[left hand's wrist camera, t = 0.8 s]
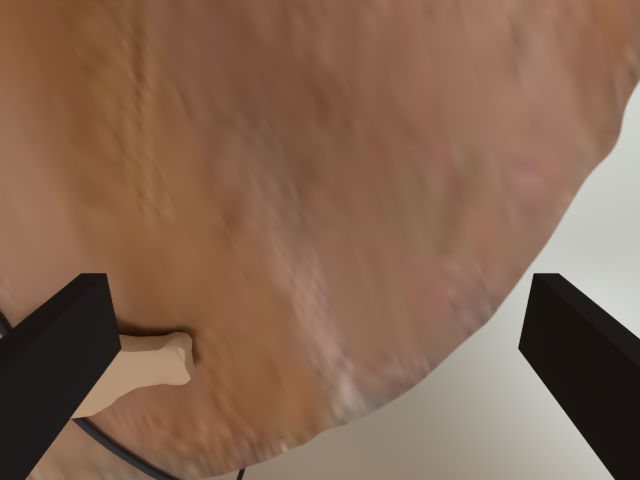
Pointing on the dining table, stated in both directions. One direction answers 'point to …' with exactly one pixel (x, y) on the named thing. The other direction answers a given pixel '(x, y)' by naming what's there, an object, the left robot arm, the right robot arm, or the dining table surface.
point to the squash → (141, 369)
